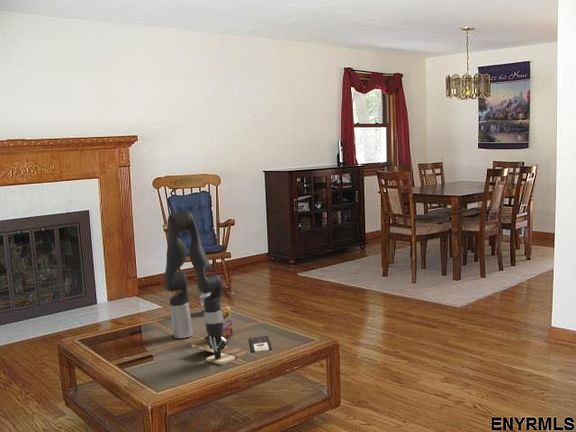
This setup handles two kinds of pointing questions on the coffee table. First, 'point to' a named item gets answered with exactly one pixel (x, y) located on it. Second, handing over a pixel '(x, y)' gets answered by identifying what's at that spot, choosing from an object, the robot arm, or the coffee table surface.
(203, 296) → the beverage bottle
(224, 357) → the plank
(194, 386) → the coffee table surface
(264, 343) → the chocolate bar
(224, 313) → the candy box
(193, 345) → the plank
